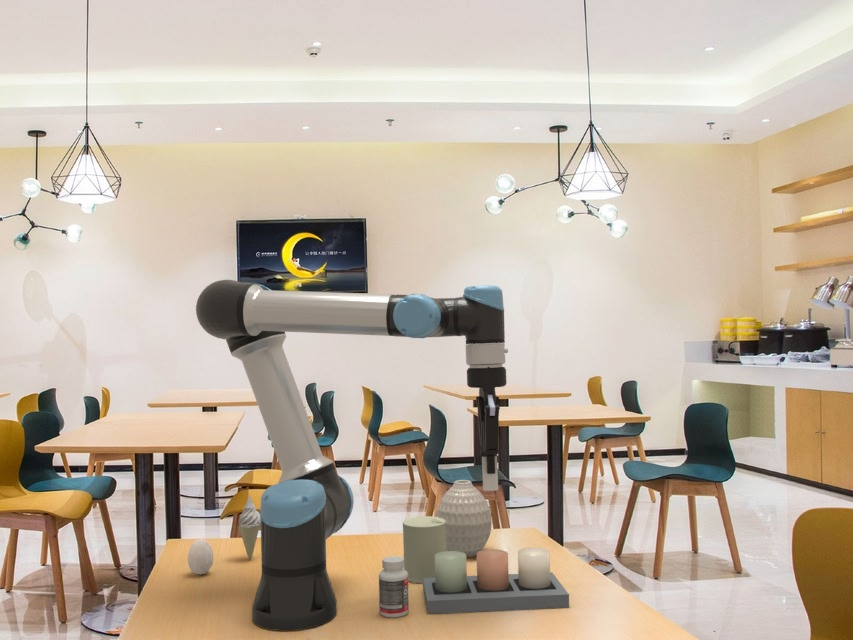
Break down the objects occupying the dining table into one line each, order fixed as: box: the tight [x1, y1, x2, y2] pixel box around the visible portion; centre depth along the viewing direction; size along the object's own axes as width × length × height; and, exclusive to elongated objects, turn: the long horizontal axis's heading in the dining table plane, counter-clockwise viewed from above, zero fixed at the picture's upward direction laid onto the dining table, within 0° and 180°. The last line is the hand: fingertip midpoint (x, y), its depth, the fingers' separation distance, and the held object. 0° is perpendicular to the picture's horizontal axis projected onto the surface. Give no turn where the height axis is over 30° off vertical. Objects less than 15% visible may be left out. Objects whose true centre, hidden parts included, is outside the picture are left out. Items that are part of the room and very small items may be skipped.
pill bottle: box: [378, 555, 410, 618], centre depth 137 cm, size 5×5×10 cm
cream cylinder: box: [517, 547, 551, 589], centre depth 144 cm, size 6×6×6 cm
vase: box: [435, 479, 493, 559], centre depth 173 cm, size 13×13×17 cm
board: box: [422, 571, 570, 615], centre depth 143 cm, size 26×13×2 cm, turn 94°
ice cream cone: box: [237, 494, 261, 561], centre depth 172 cm, size 5×5×15 cm
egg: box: [187, 538, 214, 576], centre depth 162 cm, size 5×5×8 cm
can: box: [402, 515, 447, 585], centre depth 157 cm, size 9×9×12 cm
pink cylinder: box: [476, 548, 509, 591], centre depth 143 cm, size 6×6×6 cm
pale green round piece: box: [435, 550, 468, 593], centre depth 143 cm, size 6×6×6 cm
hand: (490, 489), depth 143 cm, fingers closed
